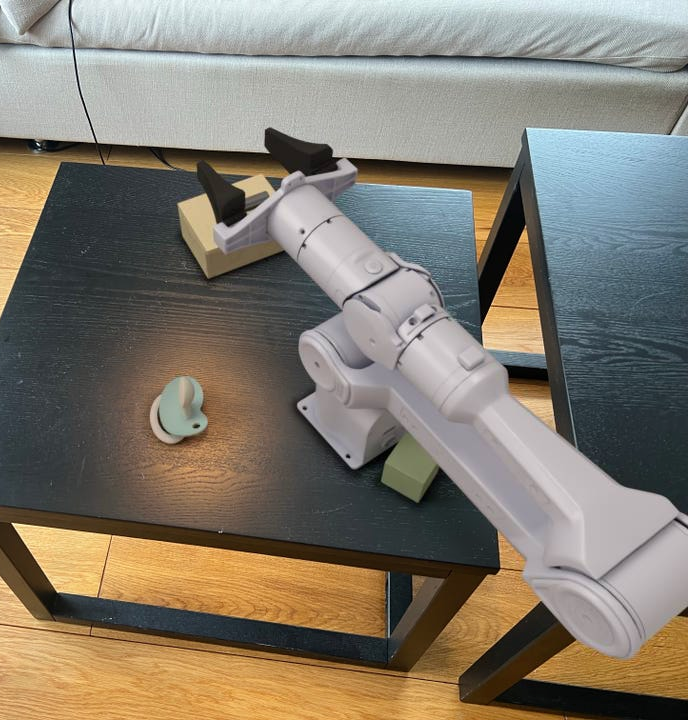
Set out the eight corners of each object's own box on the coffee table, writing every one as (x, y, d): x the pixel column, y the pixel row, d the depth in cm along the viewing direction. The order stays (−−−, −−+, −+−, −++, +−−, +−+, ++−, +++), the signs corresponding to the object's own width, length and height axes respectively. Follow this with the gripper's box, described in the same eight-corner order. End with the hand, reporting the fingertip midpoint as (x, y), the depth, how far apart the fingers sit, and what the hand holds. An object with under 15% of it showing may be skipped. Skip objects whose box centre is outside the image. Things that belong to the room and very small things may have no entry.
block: (437, 472, 73) (444, 452, 70) (418, 503, 72) (424, 484, 68) (400, 452, 75) (405, 431, 72) (380, 482, 73) (384, 462, 70)
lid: (295, 223, 89) (296, 193, 85) (207, 255, 87) (203, 227, 83) (262, 177, 94) (261, 148, 90) (177, 207, 92) (173, 178, 88)
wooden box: (292, 247, 93) (292, 219, 89) (208, 279, 91) (204, 251, 87) (263, 206, 98) (262, 178, 94) (182, 235, 96) (177, 207, 92)
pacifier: (154, 453, 78) (211, 442, 77) (143, 421, 73) (204, 410, 72) (147, 395, 82) (202, 385, 82) (136, 361, 77) (194, 351, 77)
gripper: (396, 172, 63) (298, 87, 70) (255, 249, 59) (165, 151, 66) (383, 229, 69) (294, 146, 75) (254, 302, 65) (171, 208, 72)
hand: (234, 152), depth 71 cm, fingers open, 7 cm apart
